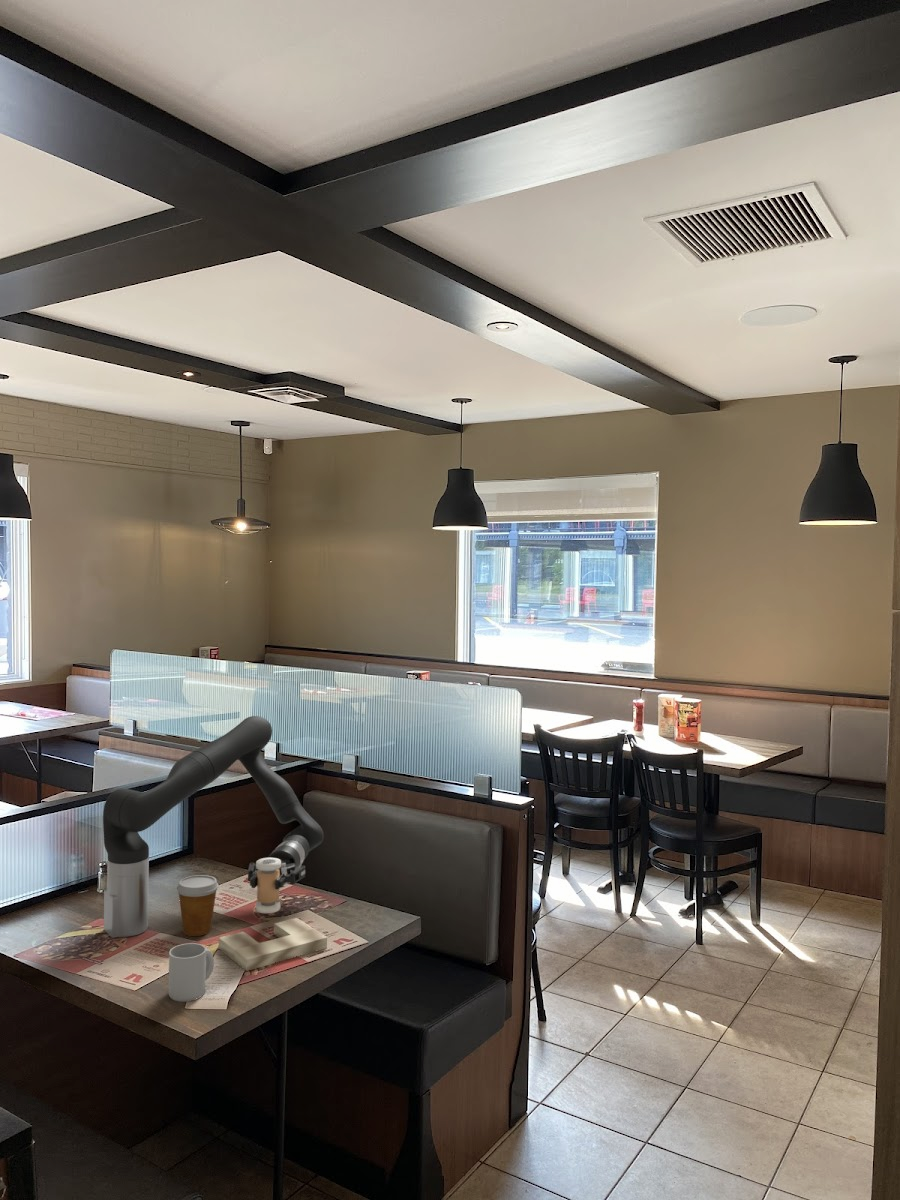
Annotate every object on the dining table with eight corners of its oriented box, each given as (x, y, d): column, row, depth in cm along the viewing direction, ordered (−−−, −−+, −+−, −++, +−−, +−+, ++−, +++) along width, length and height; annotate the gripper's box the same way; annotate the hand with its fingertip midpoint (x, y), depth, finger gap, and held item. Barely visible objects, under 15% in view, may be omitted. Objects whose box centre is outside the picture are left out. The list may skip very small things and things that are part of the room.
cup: (161, 994, 183) (161, 951, 183) (201, 977, 191) (202, 936, 191) (183, 1006, 179) (183, 961, 178) (223, 988, 187) (224, 945, 186)
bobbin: (262, 915, 205) (263, 867, 204) (251, 907, 209) (251, 860, 208) (284, 909, 208) (285, 862, 208) (273, 902, 213) (273, 855, 212)
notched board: (246, 970, 195) (246, 959, 195) (218, 948, 206) (218, 937, 205) (326, 948, 207) (327, 937, 207) (296, 927, 218) (296, 917, 218)
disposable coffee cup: (226, 927, 217) (226, 878, 217) (199, 942, 209) (200, 891, 208) (194, 920, 221) (195, 871, 221) (167, 934, 213) (168, 883, 212)
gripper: (257, 843, 223) (234, 866, 206) (314, 846, 222) (295, 870, 205) (257, 873, 223) (234, 898, 207) (314, 876, 222) (295, 902, 205)
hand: (265, 884), depth 206 cm, fingers closed on bobbin, 5 cm apart
